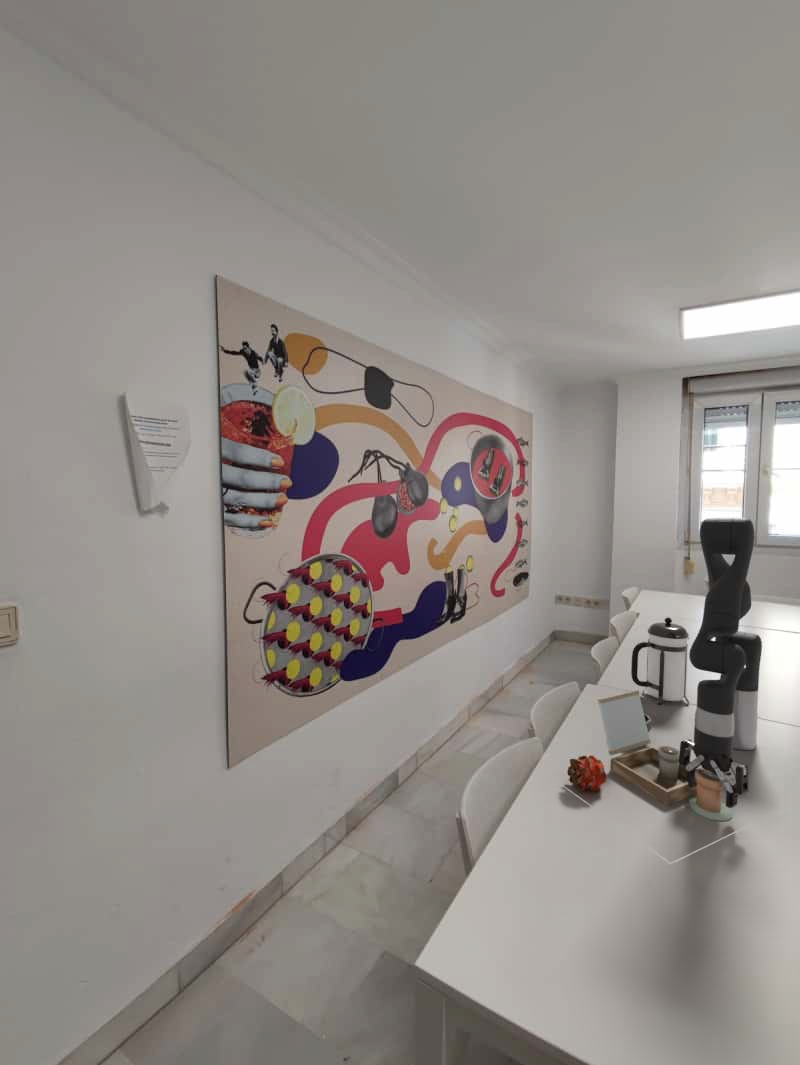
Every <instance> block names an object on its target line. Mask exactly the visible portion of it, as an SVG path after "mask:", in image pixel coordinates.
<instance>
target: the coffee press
mask: <svg viewBox="0 0 800 1065" xmlns="http://www.w3.org/2000/svg"><path fill="white" fill-rule="evenodd" d="M672 622H673V620H672V618H671V617H669V616H668V617H665V618H664V622H656V623H653V624H651V625H650V626H649V628H647V633H648V639H647V641H642V642H639V643H637V644H635V646H634V647H633V650H632V653H631V654H632V655H631V666H630V667H631V670H630V671H631V672H630V674H631V679H632V681H633V682H634V683H635V684H636V685H637V686H640V687H643V688H645V689H646V691H647V693H646V694H647V695H648V694H649V695H650V696H652V697H654V698H656V699H657V701H656V702H657V703H656V704H657V705H658V706H661V705H662V706H663V704H664V702H665V701H668V702H678V701H679V702H681V703H682V704H683V705H685V706H688V705H689V704H690V701H689V700H688V699H689V698H687V695H686V694H687V693H686V692H687V691H686V690H687V671H688V670H687V667H688V649H689V647H688V646H689V645H688V641H689V640H690V637H689V636H690V635H689V633H688V632H687V630H686V628H685V627H683V626H682V625H679V624H676V623H672ZM644 648H645V649H646V648H647V658H646V660H647V661H646V663H647V664H646V681H643V680H639V677H638V670H639V669H638V665H639V664H638V663H639V652H640V651H641V650H642V649H644ZM644 693H645V690H642V695H644ZM683 699H685V700H683ZM685 701H686V702H685Z"/></svg>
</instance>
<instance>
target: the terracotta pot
mask: <svg viewBox="0 0 800 1065" xmlns="http://www.w3.org/2000/svg"><path fill="white" fill-rule="evenodd" d="M695 781H696V782H697V794H696V795H695V796H696V804H697V805H698V806H699V807H700V808H702V809H704V810H706V811H709V812H715V813H716V812H720V811H721V802H722V796H723V795H722V794H723V793H722V791H723V790H724V789H726V786H725V784H724V783H723V782H722V781H721V780H720V778H719V777H718V775H715V774H713V773H712V772H711V771H709V770H705V769H703V768H700V767H699V768H697V769H696V770H695Z"/></svg>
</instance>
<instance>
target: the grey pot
mask: <svg viewBox="0 0 800 1065" xmlns="http://www.w3.org/2000/svg"><path fill="white" fill-rule="evenodd" d="M657 749H658V756H659V775H660V776H661V777H663V778H665V779H668V780H677V779H678V774H679V753H680V749H678V748H676V747H673V746H670V745H659V746H658V747H657Z"/></svg>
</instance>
